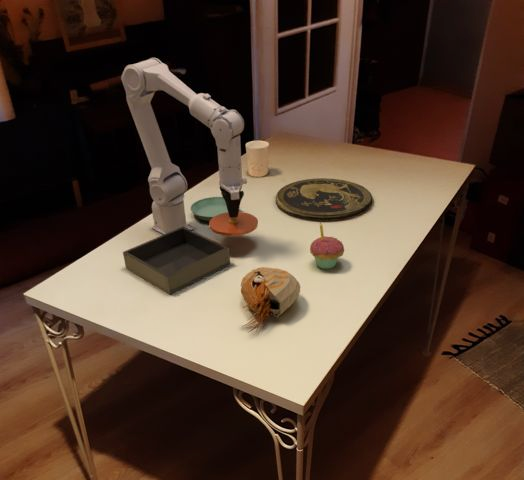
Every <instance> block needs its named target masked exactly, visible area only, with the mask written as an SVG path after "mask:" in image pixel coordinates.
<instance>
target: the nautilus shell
mask: <svg viewBox="0 0 524 480" xmlns="http://www.w3.org/2000/svg"><path fill="white" fill-rule="evenodd" d="M300 292H301V284H300V282H299V281H298V279H297V278H296V277H295V276H294V275H293V274H291V273H289V271H286V270H284V269H280V268H274V267H265V266H262V267H257V268H254V269H252V270H251V271H248V272H247V273H246V275H245V276H243V277H242V279H241V283H240V294H241V295H242V297H243V300H244V301H245V304H247V305H244V306H243V307H242V309H244V308H246V307H249V308H248V309H246V311H249V310H250V309H251V310H252V311H253V312H254V314H252V316H251V317H249V318H248V319H247V321H249V320H250V319H251V320H250V321H249V322H247V323H246V324H244V325H242V326H241V327H242V328H243V327H244V328H246V329H248V328H252V329H250V330H249V331H247V332H246V333H248V334H249V333H251V332H253V331H254V330H255V329H256V331H255V332H257V331H258V329H259V326H260V325H261V324H262V323H264V324H263V325H265V324H266V322H267V321H268V320H269V318H270V317H271V316H273V317H275V318H279V316H281V315H282V314H283V313H284V312H285V311H286V310H287V309H289V308H290V307H291V306H292V305H293V304H294V303H295V302H296V301H297V299H298V297H299V295H300ZM256 314H257V315H256ZM258 321H259V322H258ZM257 322H258V323H257ZM264 327H265V326H263V327H262V329H264Z"/></svg>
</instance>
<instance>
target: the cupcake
mask: <svg viewBox="0 0 524 480" xmlns="http://www.w3.org/2000/svg"><path fill="white" fill-rule="evenodd" d="M323 227H324V226H323V224H322V222H321V221H320V222H319V231H320V237H318V238H316V239H315V240H313V241H312V242H311V243H310V248H309V253H310V254H311V256H313V257H314V260H315V263H316V266H317V267H318V268H320V269H322V270H323V269H324V270H330V269H333V268H334V267H336V264H337V262H338V259H340V257H342V256H344V254H345V247H344V244H343V242H342V241H341V240H340V239H338V238H336V237H334V236H324V228H323Z"/></svg>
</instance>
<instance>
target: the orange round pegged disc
mask: <svg viewBox="0 0 524 480" xmlns="http://www.w3.org/2000/svg"><path fill="white" fill-rule="evenodd" d="M208 225H209V229H210V231H211V232H212V233H214V234H216V235H219V236H225V237H239V236H245V235H249V234H251V233H253V232H254V231H255V230H256V229H258V226H259V220H258V217H256V215H253V214H251V213H249V212H243V211H239V213H238V217H232V218H230V216H229V213H228V212H227V213H222V214H219V215H217V216H215V217H213V218H212V219H211V220H210V221H208Z"/></svg>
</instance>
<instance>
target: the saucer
mask: <svg viewBox="0 0 524 480" xmlns="http://www.w3.org/2000/svg"><path fill="white" fill-rule="evenodd" d="M189 209H190V212H191V213H192V214H193V215H194V216H195V217H196V218H198V219H200V220H201V221H204V222H210V220H211V219H212V218H213V217H215V216H217V215H219V214H222V213H227V212H228V210H227V206H226V202H225V200H224V198H223V196H211V197H205V198H201V199H199V200H196V201H195V202H193V203H192V204H191V205H190V208H189Z"/></svg>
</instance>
